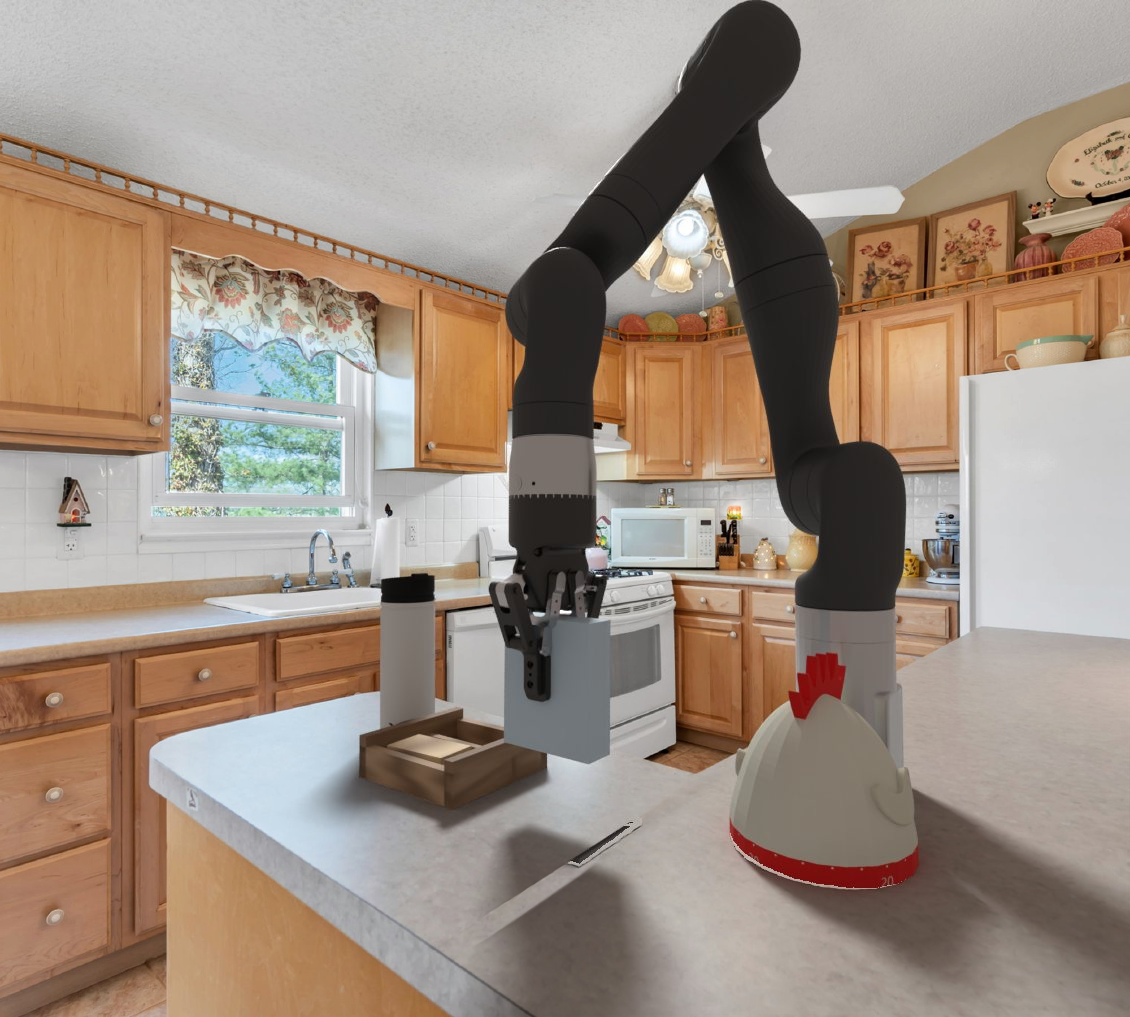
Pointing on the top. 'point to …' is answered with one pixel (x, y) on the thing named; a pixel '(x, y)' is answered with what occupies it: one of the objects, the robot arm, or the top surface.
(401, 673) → the travel mug
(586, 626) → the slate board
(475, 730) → the rack
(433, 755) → the offcut upper
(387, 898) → the top surface
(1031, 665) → the top surface
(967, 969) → the top surface
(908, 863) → the kitchen timer
